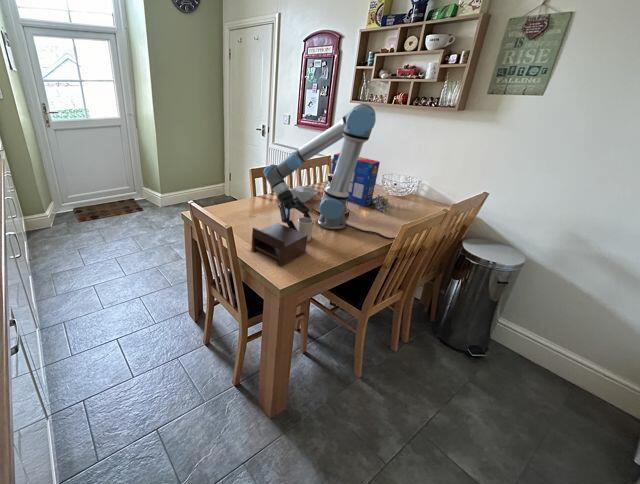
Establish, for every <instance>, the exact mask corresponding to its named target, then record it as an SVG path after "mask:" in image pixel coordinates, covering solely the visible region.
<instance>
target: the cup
mask: <svg viewBox="0 0 640 484" xmlns="http://www.w3.org/2000/svg"><path fill="white" fill-rule="evenodd" d="M313 223H314V220H313V218H311V219H310V218H307V217H304V216H301V217H299V218H297V224H296V229H297V231H299V232H301V233H303V234H306V235H307V242H310V241H312V236H313V235H312V234H313V228H314V224H313Z"/></svg>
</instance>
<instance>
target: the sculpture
mask: <svg viewBox="0 0 640 484" xmlns="http://www.w3.org/2000/svg"><path fill="white" fill-rule="evenodd" d="M288 190H290V191H291V193H292V194H293V196H292V197H293V199H294V198H296V197H298V199H299V200H300V201H301V202H302V203H303V204H304V203H306V202H308V201H309V200H313V199H314V198H315V196H316V195H319V197H320V198H322V197H321V194H320V191H318V190H317V189H315V188H313V187H312V186H304V185H296V186H294V188H289V189H288Z"/></svg>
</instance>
